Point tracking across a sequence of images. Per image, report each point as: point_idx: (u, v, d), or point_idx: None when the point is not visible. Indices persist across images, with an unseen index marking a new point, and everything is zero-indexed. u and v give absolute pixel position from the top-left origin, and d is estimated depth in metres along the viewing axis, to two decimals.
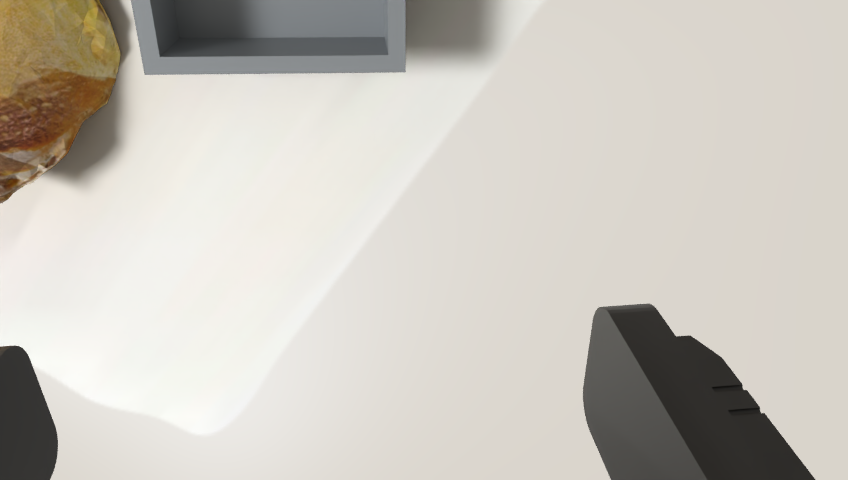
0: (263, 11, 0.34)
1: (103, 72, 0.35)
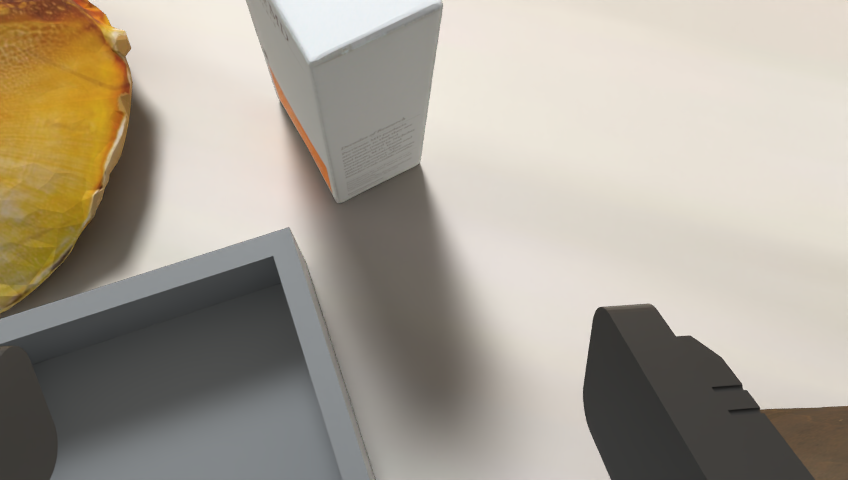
0: None
1: None
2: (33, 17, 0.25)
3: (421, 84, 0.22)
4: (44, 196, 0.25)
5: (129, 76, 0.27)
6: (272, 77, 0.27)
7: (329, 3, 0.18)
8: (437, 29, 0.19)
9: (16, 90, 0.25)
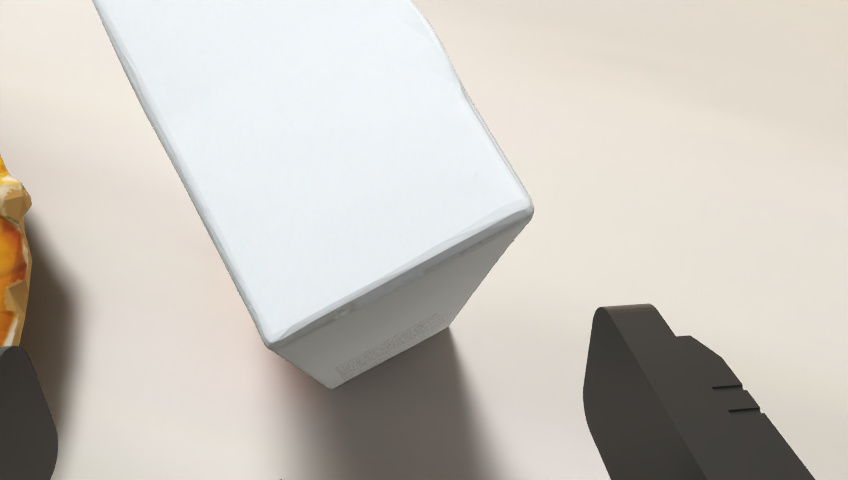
0: None
1: None
2: None
3: (470, 284, 0.13)
4: None
5: (26, 251, 0.18)
6: None
7: (312, 212, 0.09)
8: (515, 237, 0.10)
9: None
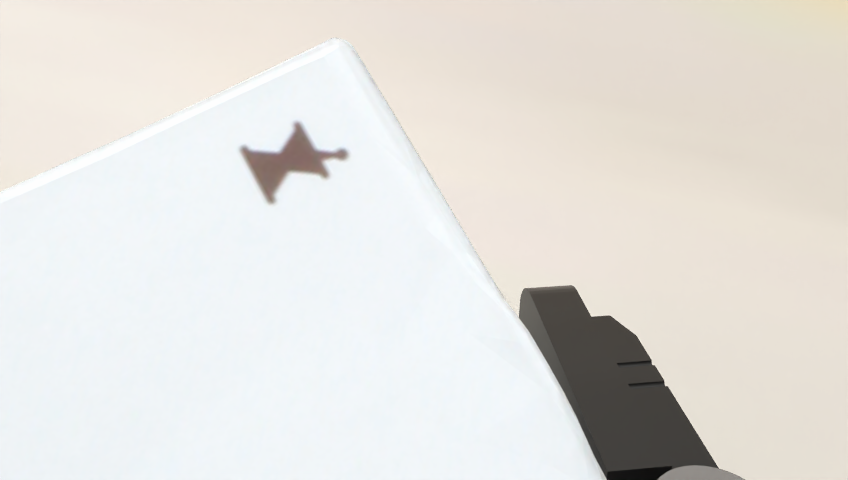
0: None
1: None
2: None
3: None
4: None
5: None
6: None
7: None
8: None
9: None
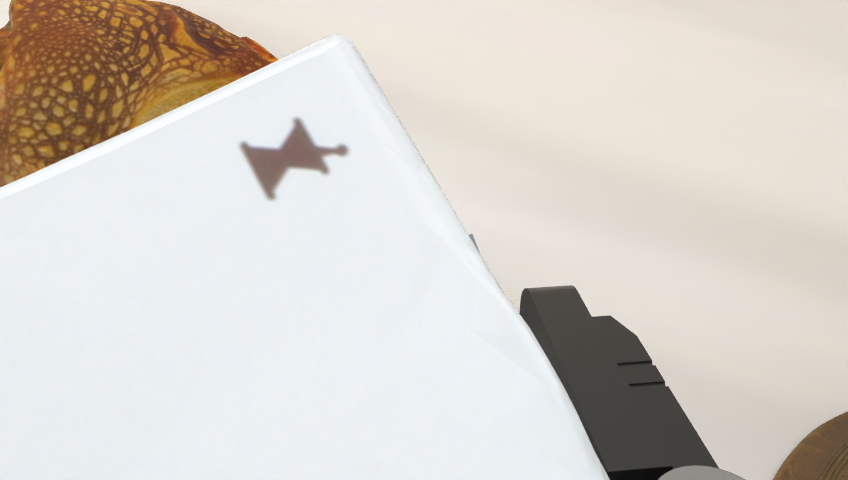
0: None
1: None
2: (236, 73, 0.27)
3: None
4: None
5: None
6: None
7: None
8: None
9: None
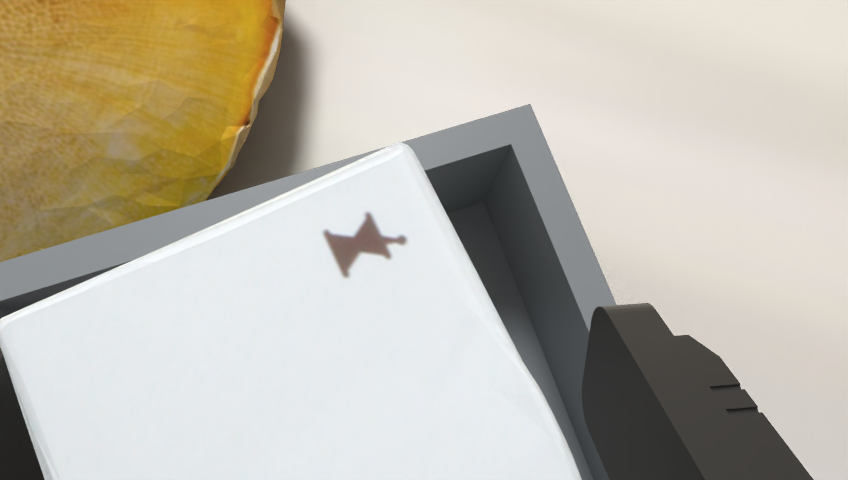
0: None
1: None
2: None
3: None
4: (170, 130, 0.17)
5: None
6: None
7: None
8: None
9: None
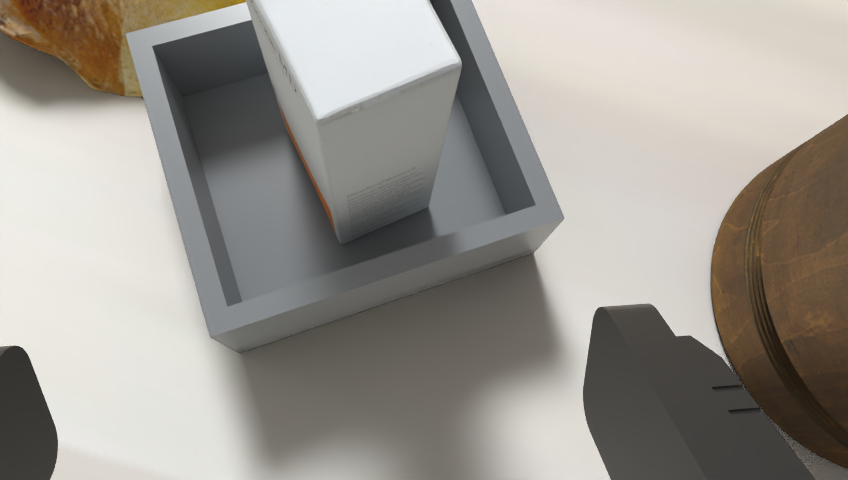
0: (238, 177, 0.28)
1: (129, 78, 0.29)
2: None
3: (434, 137, 0.21)
4: None
5: None
6: (281, 111, 0.26)
7: (342, 57, 0.17)
8: (454, 87, 0.18)
9: None
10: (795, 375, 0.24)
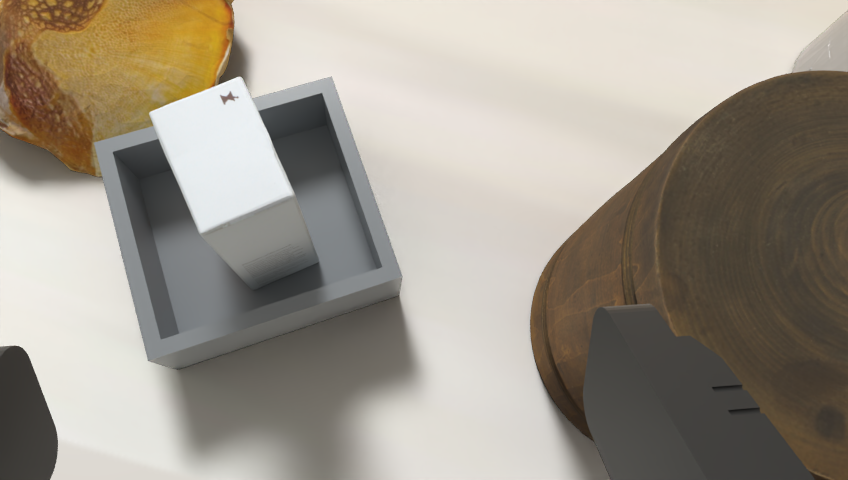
0: (179, 240, 0.38)
1: (98, 164, 0.39)
2: None
3: (296, 228, 0.31)
4: (179, 89, 0.39)
5: (233, 17, 0.41)
6: None
7: (217, 192, 0.27)
8: (295, 206, 0.28)
9: (165, 20, 0.38)
10: (566, 388, 0.35)
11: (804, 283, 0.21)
